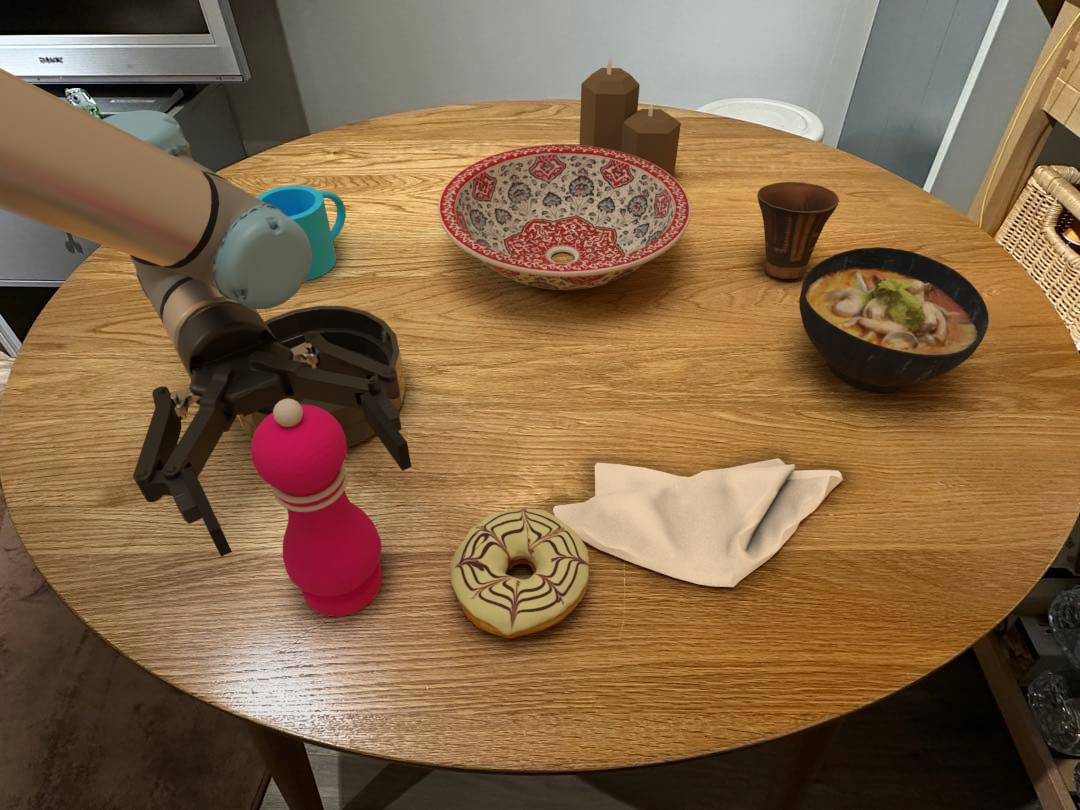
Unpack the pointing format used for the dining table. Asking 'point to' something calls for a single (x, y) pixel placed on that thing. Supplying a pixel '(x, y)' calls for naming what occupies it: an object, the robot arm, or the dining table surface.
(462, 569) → the decorated donut
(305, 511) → the pepper mill
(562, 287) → the ceramic bowl
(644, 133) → the candle
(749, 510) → the cloth
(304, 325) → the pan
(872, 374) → the bowl
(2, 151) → the robot arm
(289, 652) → the dining table surface
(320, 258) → the mug
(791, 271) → the cup
